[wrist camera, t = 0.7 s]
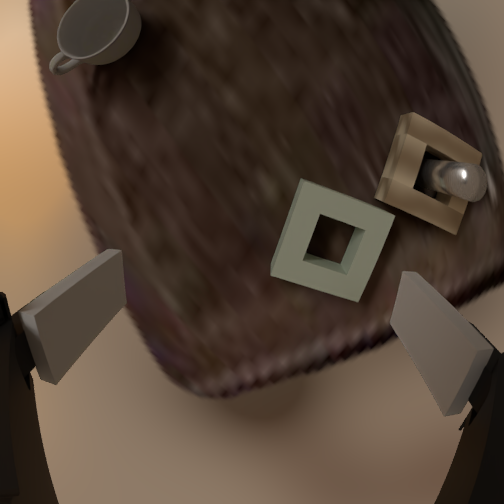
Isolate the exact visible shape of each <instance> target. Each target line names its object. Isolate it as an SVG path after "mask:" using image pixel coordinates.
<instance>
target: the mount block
mask: <svg viewBox="0 0 504 504" xmlns="http://www.w3.org/2000/svg"><path fill="white" fill-rule="evenodd" d="M425 151H427V152H429V153H430V154H432V155H434V156H436V157H438V158H440V159H441V160H444V161H454V162H464V163H473V164H477V165H479V164H480V161H481V157H482V153H480V152H479V151H477V150H476V149H474V148H473V147H471V146H470V145H468V144H467V143H465V142H464V141H462V140H460V139H459V138H457V137H456V136H454V135H452V134H451V133H449V132H448V131H446V130H444V129H443V128H441V127H439V126H437V125H436V124H434V123H432V122H430V121H429V120H427V119H425V118H423V117H421V116H420V115H418V114H416V113H414V112H412V113H408V114H404V115H401V117H400V120H399V124H398V127H397V130H396V134H395V137H394V140H393V143H392V146H391V150H390V153H389V156H388V159H387V162H386V165H385V168H384V171H383V174H382V177H381V180H380V182H379V185H378V188H377V191H376V194H375V196H374V198H376V199H378V200H380V201H382V202H385V203H387V204H389V205H392V206H394V207H396V208H399V209H401V210H403V211H405V212H408V213H410V214H412V215H414V216H417V217H419V218H421V219H423V220H425V221H427V222H430V223H432V224H434V225H436V226H438V227H440V228H442V229H444V230H446V231H448V232H450V233H452V234H454V235H456V234H457V231H458V228H459V226H460V223H461V220H462V218H463V215H464V212H465V209H466V206H467V203H468V200H464V199H461V198H458V197H455V196H451V195H448V194H444V193H441V192H437V195H436V198H435V199H433V198H431V197H429V196H427V195H425V194H423V193H421V192H419V191H417V190H415V189H413V186H414V183H415V180H416V177H417V174H418V171H419V168H420V165H421V162H422V159H423V156H424V152H425Z"/></svg>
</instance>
